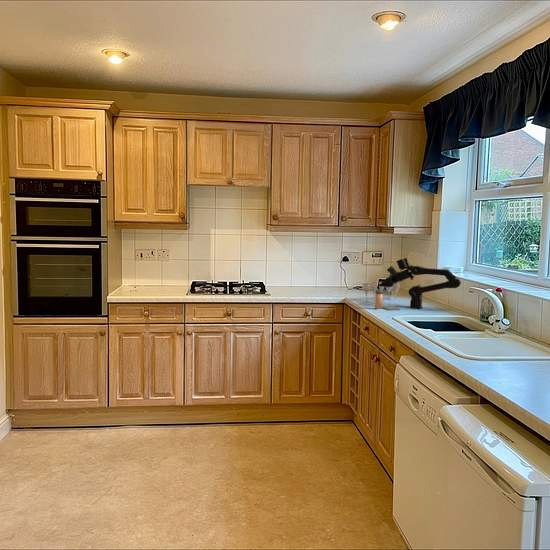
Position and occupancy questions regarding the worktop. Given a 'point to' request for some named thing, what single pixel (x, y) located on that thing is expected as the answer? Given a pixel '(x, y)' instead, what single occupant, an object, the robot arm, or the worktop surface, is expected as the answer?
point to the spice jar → (378, 299)
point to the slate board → (390, 308)
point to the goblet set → (374, 285)
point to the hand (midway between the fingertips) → (380, 284)
